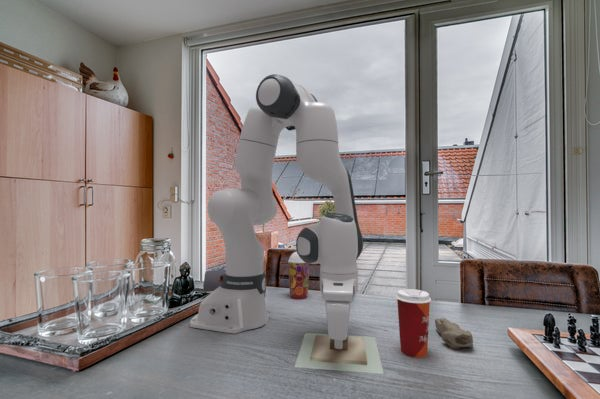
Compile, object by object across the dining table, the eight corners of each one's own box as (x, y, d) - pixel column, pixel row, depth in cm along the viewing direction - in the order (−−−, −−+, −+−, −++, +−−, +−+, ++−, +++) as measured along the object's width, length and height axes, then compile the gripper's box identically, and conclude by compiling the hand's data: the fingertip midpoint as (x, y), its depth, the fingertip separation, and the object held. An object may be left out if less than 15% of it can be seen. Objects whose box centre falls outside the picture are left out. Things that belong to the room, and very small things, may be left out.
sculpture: (426, 332, 87) (449, 352, 72) (426, 314, 88) (449, 330, 73) (452, 334, 87) (481, 354, 72) (452, 316, 87) (481, 333, 72)
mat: (294, 369, 65) (294, 367, 65) (305, 334, 82) (305, 332, 83) (383, 376, 62) (383, 373, 62) (375, 339, 80) (375, 337, 80)
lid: (310, 361, 67) (310, 343, 67) (315, 338, 79) (315, 323, 79) (367, 365, 66) (367, 346, 66) (363, 341, 77) (363, 325, 78)
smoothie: (297, 292, 124) (297, 242, 125) (314, 296, 119) (314, 243, 119) (283, 297, 118) (283, 244, 118) (300, 301, 112) (300, 245, 113)
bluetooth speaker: (266, 292, 125) (266, 267, 125) (265, 298, 116) (265, 271, 116) (208, 293, 124) (208, 267, 124) (202, 299, 114) (203, 272, 115)
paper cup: (435, 363, 67) (434, 298, 68) (398, 360, 69) (397, 296, 69) (428, 347, 75) (427, 289, 75) (394, 345, 76) (394, 287, 77)
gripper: (327, 273, 84) (327, 326, 83) (321, 294, 63) (321, 363, 63) (351, 274, 83) (351, 327, 82) (353, 295, 62) (353, 366, 62)
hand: (338, 343), depth 72 cm, fingers closed on lid, 3 cm apart
